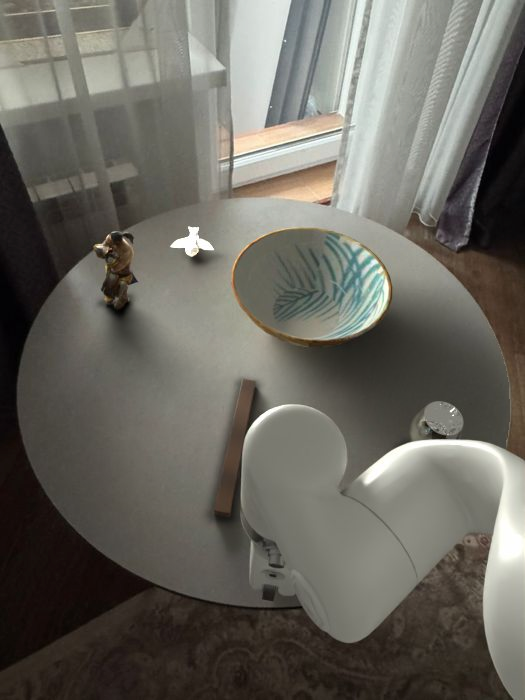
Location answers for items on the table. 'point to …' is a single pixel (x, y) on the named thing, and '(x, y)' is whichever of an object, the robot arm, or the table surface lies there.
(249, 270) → the bowl
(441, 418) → the wineglass
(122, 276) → the figurine
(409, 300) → the table surface
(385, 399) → the table surface
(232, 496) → the rail
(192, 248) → the toy bird
